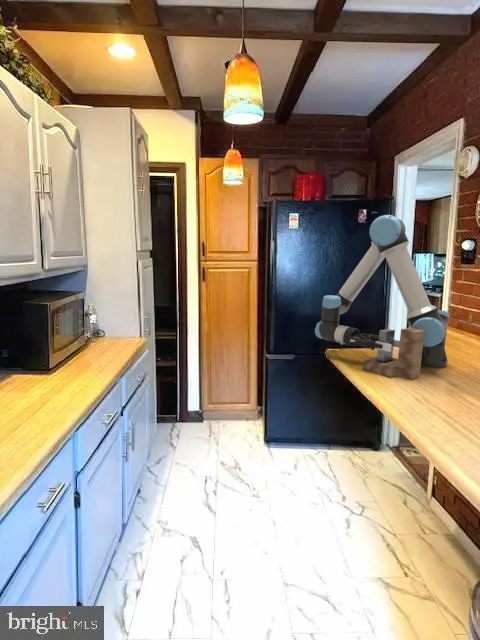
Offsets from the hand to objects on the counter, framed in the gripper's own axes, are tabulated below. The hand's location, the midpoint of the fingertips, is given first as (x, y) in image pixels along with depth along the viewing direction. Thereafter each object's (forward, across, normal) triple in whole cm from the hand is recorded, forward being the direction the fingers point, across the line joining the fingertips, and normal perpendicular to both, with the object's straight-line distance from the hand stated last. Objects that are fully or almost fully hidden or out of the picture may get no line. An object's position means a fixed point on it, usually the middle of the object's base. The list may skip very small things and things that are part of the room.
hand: (397, 346), depth 167 cm
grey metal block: (-5, 0, -10) cm, 12 cm away
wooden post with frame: (-1, 0, -10) cm, 11 cm away
